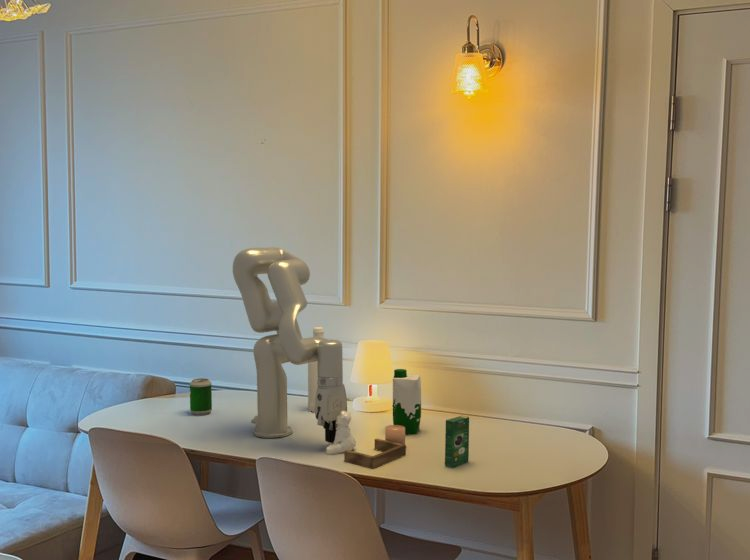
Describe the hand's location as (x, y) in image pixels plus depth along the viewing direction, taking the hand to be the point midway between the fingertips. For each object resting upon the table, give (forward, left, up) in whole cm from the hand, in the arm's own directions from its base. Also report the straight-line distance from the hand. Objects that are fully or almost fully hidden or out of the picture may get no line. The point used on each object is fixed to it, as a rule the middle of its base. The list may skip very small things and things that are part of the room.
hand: (330, 441), depth 225 cm
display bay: (+17, 0, -2) cm, 17 cm away
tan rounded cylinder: (+15, +12, -2) cm, 19 cm away
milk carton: (+8, +28, -2) cm, 29 cm away
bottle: (-33, +31, -2) cm, 45 cm away
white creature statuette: (+4, 0, -2) cm, 5 cm away
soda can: (-63, +2, -2) cm, 63 cm away
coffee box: (+38, +10, -2) cm, 39 cm away
